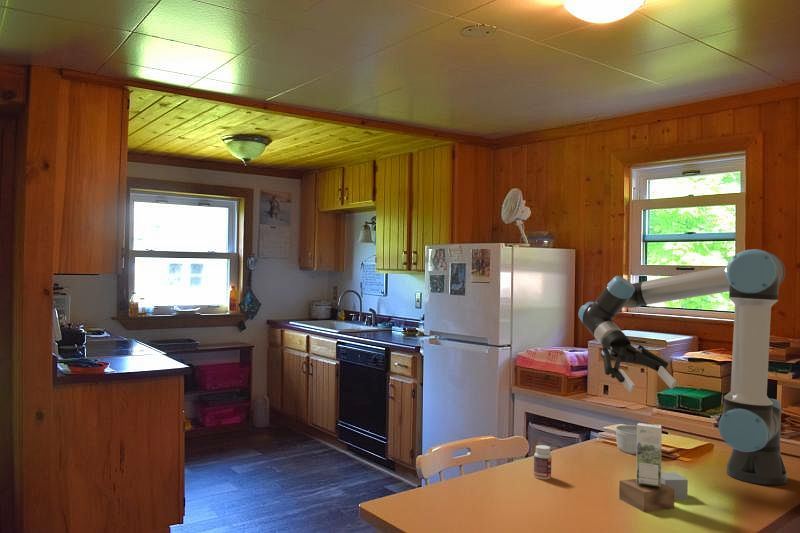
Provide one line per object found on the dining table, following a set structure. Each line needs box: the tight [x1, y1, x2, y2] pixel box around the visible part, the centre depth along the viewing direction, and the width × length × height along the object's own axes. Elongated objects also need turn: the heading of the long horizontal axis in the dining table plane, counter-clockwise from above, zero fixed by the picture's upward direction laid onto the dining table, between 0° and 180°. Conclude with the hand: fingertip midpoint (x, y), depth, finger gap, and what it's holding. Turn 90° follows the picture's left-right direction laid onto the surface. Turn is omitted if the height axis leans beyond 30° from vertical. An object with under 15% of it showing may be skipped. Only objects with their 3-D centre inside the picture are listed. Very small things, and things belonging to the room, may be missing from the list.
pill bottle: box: [533, 444, 553, 480], centre depth 174 cm, size 5×5×8 cm
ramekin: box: [614, 424, 637, 456], centre depth 204 cm, size 13×13×7 cm
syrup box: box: [635, 422, 663, 487], centre depth 156 cm, size 6×6×14 cm
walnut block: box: [618, 478, 675, 513], centre depth 155 cm, size 9×9×5 cm
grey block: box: [661, 471, 689, 500], centre depth 162 cm, size 6×6×5 cm
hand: (653, 386), depth 172 cm, fingers open, 13 cm apart
